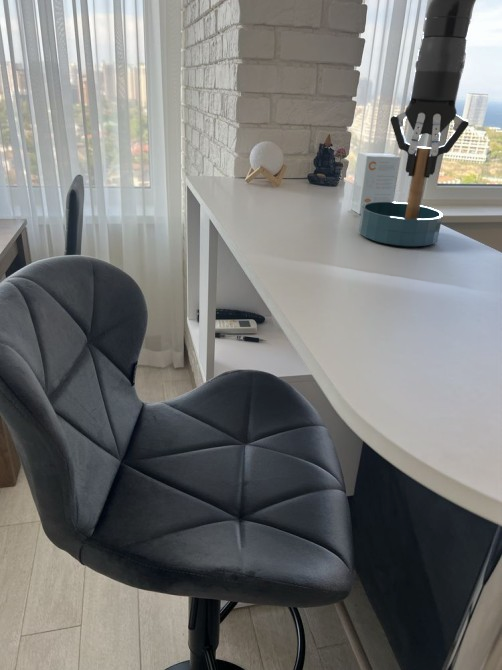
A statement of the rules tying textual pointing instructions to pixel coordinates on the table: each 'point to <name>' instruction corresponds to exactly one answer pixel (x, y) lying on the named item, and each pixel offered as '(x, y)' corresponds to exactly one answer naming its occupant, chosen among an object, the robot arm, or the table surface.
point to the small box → (374, 179)
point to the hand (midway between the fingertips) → (418, 175)
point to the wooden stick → (417, 182)
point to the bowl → (399, 224)
